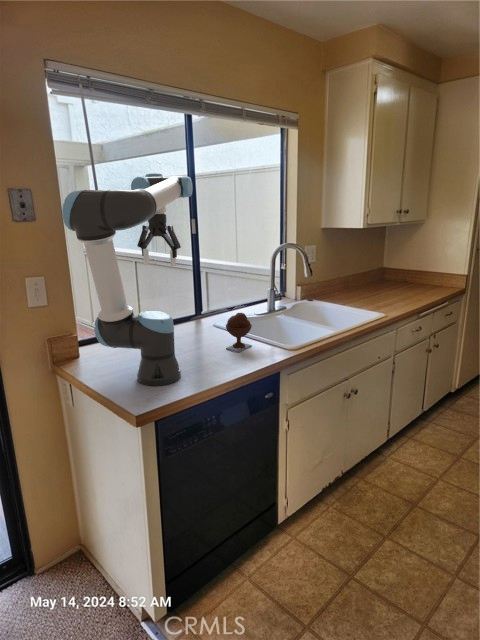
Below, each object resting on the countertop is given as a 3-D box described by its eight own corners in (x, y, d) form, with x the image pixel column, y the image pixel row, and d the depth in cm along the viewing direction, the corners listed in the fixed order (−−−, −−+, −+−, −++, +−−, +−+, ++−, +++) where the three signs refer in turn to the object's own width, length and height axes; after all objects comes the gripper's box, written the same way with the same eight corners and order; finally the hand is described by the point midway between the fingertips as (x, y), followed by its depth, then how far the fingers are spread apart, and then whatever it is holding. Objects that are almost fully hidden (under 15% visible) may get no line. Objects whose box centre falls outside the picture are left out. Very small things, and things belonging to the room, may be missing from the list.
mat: (238, 352, 170) (238, 350, 170) (226, 349, 174) (225, 347, 174) (251, 346, 177) (251, 344, 177) (239, 343, 181) (239, 342, 181)
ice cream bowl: (253, 343, 180) (254, 309, 176) (247, 351, 169) (247, 316, 165) (230, 341, 182) (230, 308, 178) (223, 349, 172) (222, 314, 168)
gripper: (187, 213, 167) (189, 265, 172) (137, 213, 177) (141, 262, 182) (177, 213, 160) (180, 267, 166) (126, 213, 170) (130, 264, 176)
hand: (159, 264), depth 174 cm, fingers open, 13 cm apart
